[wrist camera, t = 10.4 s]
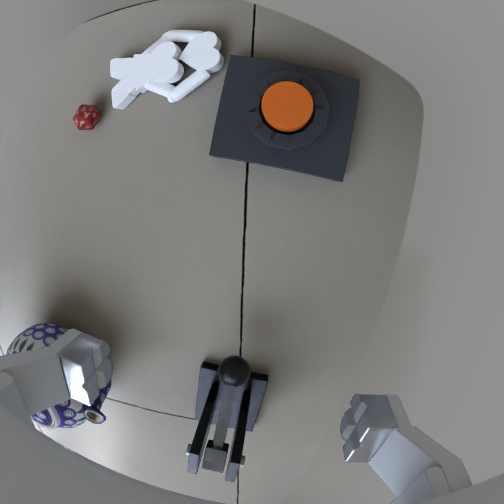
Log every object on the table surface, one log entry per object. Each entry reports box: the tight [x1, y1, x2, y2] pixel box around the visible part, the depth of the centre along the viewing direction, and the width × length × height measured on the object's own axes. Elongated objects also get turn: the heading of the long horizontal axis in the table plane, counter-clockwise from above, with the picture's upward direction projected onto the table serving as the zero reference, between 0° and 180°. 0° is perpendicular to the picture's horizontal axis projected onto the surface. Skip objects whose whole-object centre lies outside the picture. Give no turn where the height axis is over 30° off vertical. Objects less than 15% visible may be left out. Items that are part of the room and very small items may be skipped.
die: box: [73, 105, 101, 130], centre depth 25 cm, size 3×3×3 cm
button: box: [261, 81, 313, 132], centre depth 21 cm, size 4×4×2 cm
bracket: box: [186, 362, 268, 482], centre depth 28 cm, size 10×8×12 cm
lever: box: [202, 356, 251, 473], centre depth 26 cm, size 13×3×3 cm, turn 169°
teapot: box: [6, 323, 111, 429], centre depth 28 cm, size 25×15×15 cm, turn 94°
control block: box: [209, 55, 360, 182], centre depth 23 cm, size 12×10×4 cm
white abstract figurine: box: [110, 30, 224, 110], centre depth 24 cm, size 9×12×2 cm
